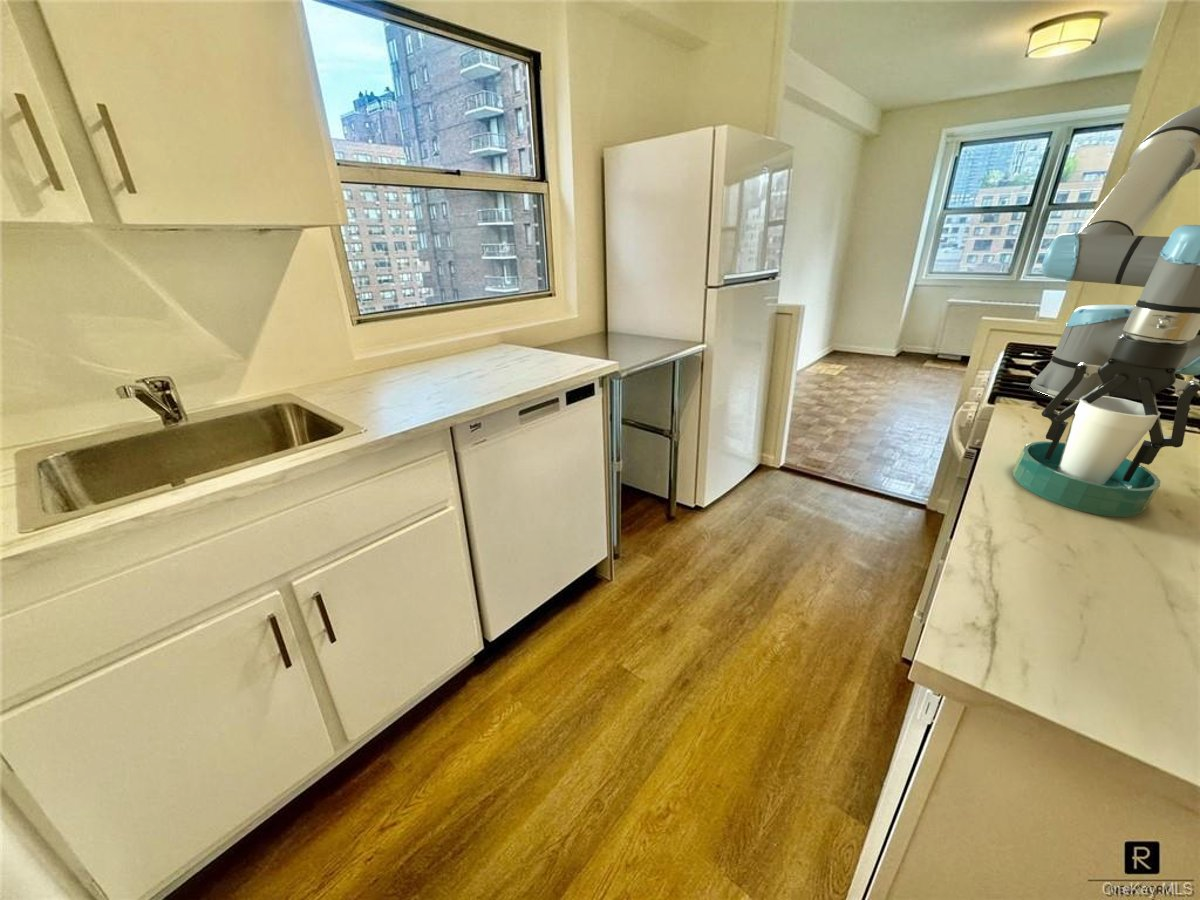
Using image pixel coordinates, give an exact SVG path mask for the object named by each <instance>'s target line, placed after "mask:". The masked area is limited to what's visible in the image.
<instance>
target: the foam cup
mask: <svg viewBox="0 0 1200 900" xmlns="http://www.w3.org/2000/svg"><path fill="white" fill-rule="evenodd" d="M1083 397H1084V396H1082V397H1081V398H1080V399H1079V401H1080V402H1079V401H1078V402H1079V404H1078V406H1077V408H1076V410H1075V412H1074V413H1075V414H1074V415H1072V418H1071V419H1072V420H1071V422H1070V426H1069V430H1068V432H1067V436H1066V439H1065V442H1064V443H1065V446H1064V449H1063V453H1062V456H1061V459H1060V463H1059V468H1058V471H1059V472H1060V473H1062V474H1065V475H1068V476H1070V477H1073V478H1077V479H1080V480H1084V481H1087V482H1091V483H1096V484H1105V483H1106V481H1107V480H1108V479H1109V478H1110V477H1111V475H1112V474H1113V473H1114V472H1115V471H1116V469H1117V468H1118V467H1119V466H1120V464H1121V463H1122V462H1123V461H1124V459H1127V457H1128V456H1129V455H1130V454H1131V452H1132V451H1133V450H1134V448H1135V447H1136V446H1137V445H1138V444H1139V442H1140V441H1141V440H1142V439H1143V437H1145V435H1146V433H1147V432H1149V430H1151V428H1152V426H1153V425H1154V423H1155V421H1156V420H1157V418H1158V417H1159V418H1160V416H1161V414H1162V412H1161V411H1159V410H1158V415H1145V411H1144V407H1143V404H1142V402H1137V401H1133V400H1130V399H1126V398H1122V397H1121V398H1120V397H1116V396H1115V397H1114V396H1110V395H1109V396H1102V397H1100V398H1098V399H1097V400H1095V401H1094V402H1092V403H1091V404H1089V403H1088V402H1087V401H1085V400H1082V398H1083Z"/></svg>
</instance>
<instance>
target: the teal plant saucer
mask: <svg viewBox="0 0 1200 900" xmlns="http://www.w3.org/2000/svg"><path fill="white" fill-rule="evenodd" d="M1051 443H1052V441H1045V440H1044V441H1033V442H1032V441H1031V442H1029V443H1027V444H1025V445H1024V446H1023V447H1022V450H1021V452H1020V454H1019V456H1018V459H1017V460H1016V462H1015V465H1014V467H1013V470H1012V476H1013V479H1014V480H1015V481H1016V482H1017V483H1018V485H1020V486H1022V488H1024V489H1026V490H1027V491H1029V492H1031V493H1032V494H1034V495H1037V496H1038V497H1040V498H1042V499H1045V500H1047V501H1049V502H1052V503H1054V504H1057V505H1060V506H1063V507H1065V508H1068V509H1071V510H1072V509H1073V510H1076V511H1080V512H1083V513H1088V514H1092V515H1098V516H1103V517H1104V516H1105V517H1112V518H1113V517H1114V518H1130V517H1131V518H1132V517H1135V516H1139V515H1141V514H1142V513H1144V511H1145V510H1146V509H1147V508H1148V506H1149V505H1150V503H1151V501H1152V500H1153V498H1154V496H1155V495H1156V494H1157V492H1158V490H1159V489H1160V487H1161V483H1162V481H1161V480H1160V478H1159V477H1158V475H1156V474H1155V473H1154V472H1152V470H1150V469H1148V468H1147V467H1144V466H1143V465H1141V464H1139V466H1138V468H1137V470H1136V471H1135V473H1134V475H1133V476H1132V478H1131V480H1130V481H1129V482H1126V481H1123V477H1124V474H1125V473H1126V471H1127V469H1128V468H1129V466H1130V464H1131V462H1132V461H1133V460H1130V459H1127V458H1125V459H1124V461H1123V462H1122V463H1121V464H1120V466H1119V467H1118V468H1117V469H1116V471H1115V472H1114V473H1113V474H1112V475H1111V477H1110V478H1109V479H1108V480H1107V481H1106V483H1105V484H1096V483H1091V482H1087V481H1084V480H1080V479H1077V478H1073V477H1070V476H1068V475H1065V474H1062V473H1060V472H1059V471H1058V468H1059V463H1060V459H1061V456H1062V453H1063V449H1064V446H1065V443H1066V442H1062V441H1061V442H1060V441H1059V443H1058V445H1057V447H1056V449H1055V451H1054V453H1053V455H1052V457H1051V458H1050V460H1047V459H1044V458H1045V455H1046V453H1047V451H1048V449H1049V447H1050V445H1051Z"/></svg>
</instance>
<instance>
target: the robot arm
mask: <svg viewBox="0 0 1200 900" xmlns="http://www.w3.org/2000/svg"><path fill="white" fill-rule="evenodd" d="M1196 170H1200V104H1199V105H1196V106H1194V107H1192V108H1189V109H1188V110H1186V111H1184V112H1182V113H1180V114H1178V115H1176V116H1175V117H1172V118H1171V119H1169V120H1168V121H1166V122H1165V123H1164V124H1162V125H1161V126H1159V127H1157V128H1156V129H1155V130H1153V131H1152V132H1151V133H1149V135H1147V136H1146V137H1145V138H1144V139H1143V140H1142V142H1140V143H1139V145H1138V146H1137V147H1136V149H1135V150H1134V151H1133V153H1132V154H1131V156H1130V158H1129V161H1128V169H1127V170H1126V171H1125V172H1124V173H1123V175H1122V177H1120V179H1119V180H1118V182H1117V183H1116V184H1115V185H1114V187H1113V188H1112V189H1111V191H1109V193H1108V194H1107V196H1106V197H1105V198H1104V199H1103V201H1102V202H1101V203H1100V205H1098V207H1097V208H1096V210H1095V211H1094V212H1093V214H1092V215H1091V216H1090V217H1089V219H1088V220H1087V221H1086V223H1085V224H1084V226H1083V227H1081V228H1080V230H1079V232H1078V231H1074V232H1064V233H1061V234H1058V235H1057V236H1056V237H1055V238H1054V239H1053V240H1052V241H1051V243H1050V244H1049V247H1048V248H1047V250H1046V253H1045V255H1044V257H1043V261H1042V264H1041V273H1042V276H1043V277H1045V278H1049V279H1056V280H1057V279H1058V280H1062V281H1063V280H1065V281H1066V282H1080V283H1081V282H1082V283H1095V284H1096V283H1097V284H1107V285H1109V284H1110V285H1121V286H1128V287H1129V286H1130V287H1139V288H1143V290H1142V291H1141V294H1140V295H1139V298H1138V299H1137V301H1136V303H1135V304H1134V305H1130V304H1091V305H1090V304H1089V305H1083V306H1080V307H1077V308H1076V309H1075V310H1073V312H1072V313H1071V315H1070V318H1069V319H1068V321H1067V322H1066V323H1065V325H1064V326H1065V328H1064V330H1063V332H1062V335H1061V337H1060V339H1059V341H1058V343H1057V346H1056V349H1055V350H1054V352H1053V355H1052V357H1051V359H1050V361H1049V363H1048V364H1047V365H1046V366H1045V367H1044V368H1043V370H1041V372H1040V373H1039V374H1038V375H1037V376H1036V377H1035V378H1034V379H1033V380H1032V382H1031V383H1030V385H1029V387H1028V391H1029V392H1030V393H1031V394H1033V395H1034V396H1037V397H1039V398H1042V399H1045V400H1048V401H1050V402H1049V403H1048V404H1047V406H1046V407H1044V409H1043V410H1042V412H1041V416H1042V418H1047V419H1049V420H1050V421H1051V424H1050V426H1049V428H1048V429H1047V432H1046V434H1045V439H1046V440H1050V441H1051V442H1052V443H1051V445H1050V447H1049V449H1048V451H1047V453H1046V455H1045V458H1044V459H1047V460H1050V458H1051V457H1052V455H1053V453H1054V451H1055V449H1056V447H1057V445H1058V443H1059V442H1060V441H1061V438H1062V437H1063V435H1064V432H1065V431H1066V428H1067V427H1068V424H1069V422H1068V421H1067V420H1068V419H1070V418H1071V417H1073V416H1074V414H1075V413H1074V412H1075V410H1076V408H1077V406H1078V404H1079V402H1080V401H1079V399H1080V398H1081V397H1082V396H1084V397H1083V398H1082V400H1085V401H1087V402H1088V403H1089V404H1091V403H1092V402H1094V401H1095V400H1097V399H1098V398H1100V397H1102V396H1109V397H1110V395H1111V396H1115V397H1126V398H1128V399H1132V400H1141V404H1143V407H1144V411H1145V415H1158V411H1159V408H1158V404H1157V397H1156V394H1157V393H1159V392H1161V391H1163V390H1165V389H1167V388H1170V387H1174V394H1175V395H1177V396H1178V398H1177V403H1176V409H1175V414H1174V419H1173V420H1174V421H1173V425H1172V431H1171V436H1167V435H1166V436H1164V432H1163V429H1162V428H1163V427H1162V423H1161V418H1160V416H1159V417H1158V418H1157V420H1156V421H1155V423H1154V425H1153V426H1152V428H1151V430H1148V432H1149V433H1148V434H1149V438H1150V440H1146V439H1144V440H1143V442H1142V443H1141V445H1140V447H1139V448H1138V451H1136V453H1135V456H1134V458H1132V460H1131V461H1132V462H1131V464H1130V466H1129V468H1128V469H1127V471H1126V473H1125V474H1124V477H1123V481H1126V482H1129V481H1130V480H1131V478H1132V476H1133V475H1134V473H1135V471H1136V470H1137V468H1138V466H1139V465H1141V464H1143V465H1147V466H1150V464H1152V463H1153V462H1154V460H1155V459H1156V457H1157V455H1158V454H1159V452H1160V450H1161V449H1162V448H1166V447H1167V448H1168V447H1171V448H1172V447H1173V448H1181V447H1183V445H1184V441H1185V435H1186V428H1187V423H1188V417H1189V412H1190V407H1191V401H1192V400H1193V398H1195V396H1196V395H1197V393H1198V392H1199V391H1200V382H1199V381H1197V380H1191V381H1190V380H1189V381H1188V380H1184V379H1180V378H1177V377H1176V374H1177V375H1185V376H1199V375H1200V224H1184V225H1180V226H1178V227H1176V228H1174V230H1172V233H1171V234H1170V236H1153V235H1152V236H1151V235H1140V234H1141V233H1142V232H1143V230H1145V228H1146V227H1147V225H1148V224H1149V222H1150V221H1151V219H1152V218H1153V216H1155V214H1156V213H1157V211H1158V210H1159V208H1160V207H1161V206H1162V204H1163V203H1164V202H1165V200H1166V199H1167V197H1168V196H1169V195H1170V193H1171V192H1172V191H1173V189H1174V188H1175V186H1176V185H1177V184H1178V182H1179V181H1180V180H1181V178H1184V177H1185V176H1186V175H1188V174H1190V173H1191V172H1192V171H1196ZM1030 387H1031V388H1032V389H1033V390H1035V391H1037V392H1040V393H1042V394H1045V395H1048V396H1052V397H1055V398H1052V397H1048V396H1045V395H1042V394H1040V393H1037V392H1035V391H1033V390H1032V389H1031V388H1030ZM1065 399H1070V400H1078V401H1079V402H1078V401H1076V402H1070V401H1065ZM1061 404H1065V405H1069V406H1067V407H1066V408H1064V409H1063V410H1061V411H1060V412H1058V411H1057V409H1058V408H1059V407H1060V405H1061Z"/></svg>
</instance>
